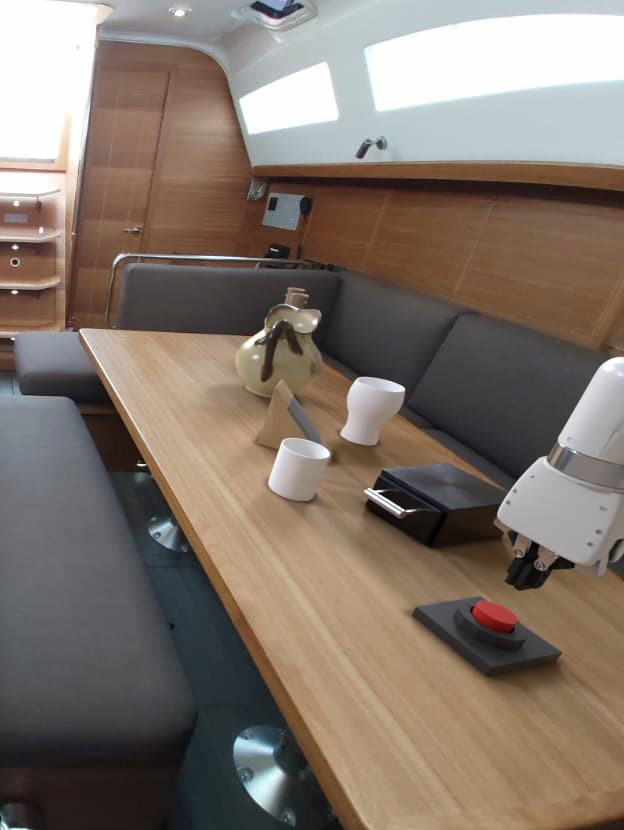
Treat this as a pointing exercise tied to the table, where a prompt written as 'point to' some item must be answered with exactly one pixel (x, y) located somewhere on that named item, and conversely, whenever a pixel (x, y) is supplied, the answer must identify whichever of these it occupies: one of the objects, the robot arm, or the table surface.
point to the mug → (298, 469)
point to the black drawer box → (454, 501)
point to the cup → (371, 408)
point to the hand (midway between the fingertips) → (519, 584)
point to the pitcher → (281, 352)
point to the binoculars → (296, 298)
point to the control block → (484, 638)
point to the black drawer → (404, 509)
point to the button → (494, 616)
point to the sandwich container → (288, 421)
